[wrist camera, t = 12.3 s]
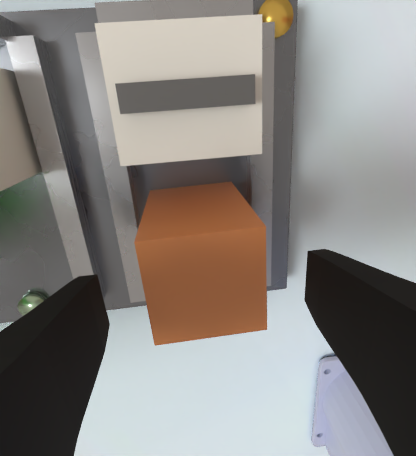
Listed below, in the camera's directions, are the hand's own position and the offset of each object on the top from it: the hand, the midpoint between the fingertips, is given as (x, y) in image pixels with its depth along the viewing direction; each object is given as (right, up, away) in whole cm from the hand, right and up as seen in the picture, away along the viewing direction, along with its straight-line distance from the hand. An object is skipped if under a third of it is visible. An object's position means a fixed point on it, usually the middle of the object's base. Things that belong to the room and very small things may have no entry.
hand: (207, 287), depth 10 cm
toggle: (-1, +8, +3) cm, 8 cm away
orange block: (-1, +2, +5) cm, 6 cm away
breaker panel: (-5, +5, +5) cm, 8 cm away
